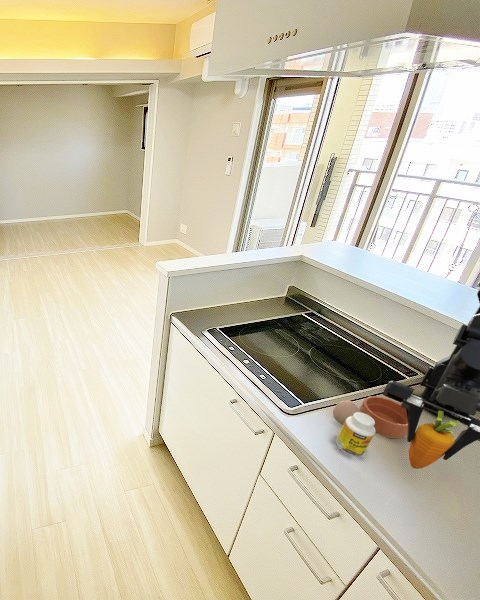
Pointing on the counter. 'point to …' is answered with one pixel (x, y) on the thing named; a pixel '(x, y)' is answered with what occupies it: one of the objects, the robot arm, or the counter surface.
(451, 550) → the counter surface
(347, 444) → the supplement bottle
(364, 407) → the bowl
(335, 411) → the egg
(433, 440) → the carrot
